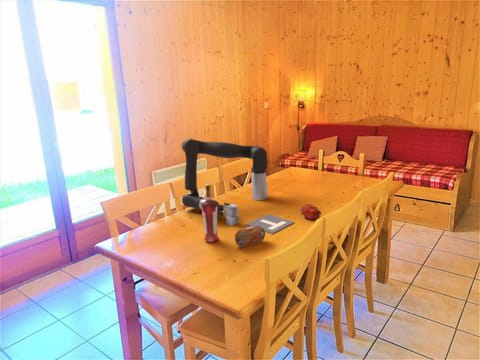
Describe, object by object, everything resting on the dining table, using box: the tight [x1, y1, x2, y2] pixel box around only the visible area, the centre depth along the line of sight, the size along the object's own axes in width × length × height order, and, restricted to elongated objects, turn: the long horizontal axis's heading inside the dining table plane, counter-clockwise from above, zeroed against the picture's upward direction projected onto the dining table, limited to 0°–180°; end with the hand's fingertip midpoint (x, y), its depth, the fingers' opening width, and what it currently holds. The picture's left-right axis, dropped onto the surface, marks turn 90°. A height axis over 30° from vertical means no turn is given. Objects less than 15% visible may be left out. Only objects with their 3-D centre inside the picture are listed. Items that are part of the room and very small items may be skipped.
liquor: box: [201, 183, 219, 243], centre depth 174 cm, size 7×7×28 cm
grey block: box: [225, 203, 239, 227], centre depth 195 cm, size 4×4×10 cm
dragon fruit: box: [300, 203, 323, 221], centre depth 198 cm, size 8×8×12 cm
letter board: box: [245, 214, 295, 235], centre depth 194 cm, size 18×18×1 cm
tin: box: [234, 225, 266, 248], centre depth 171 cm, size 15×3×8 cm, turn 117°
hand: (228, 212), depth 196 cm, fingers open, 8 cm apart
